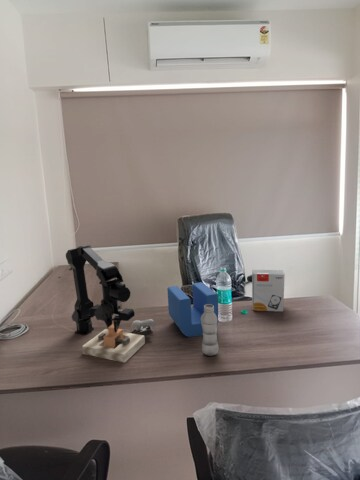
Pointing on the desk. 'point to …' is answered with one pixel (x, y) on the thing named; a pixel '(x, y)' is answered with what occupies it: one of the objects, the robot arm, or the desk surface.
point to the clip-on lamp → (142, 327)
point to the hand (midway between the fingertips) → (113, 331)
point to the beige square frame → (120, 353)
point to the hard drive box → (267, 290)
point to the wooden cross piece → (112, 336)
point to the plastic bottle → (209, 331)
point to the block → (182, 310)
